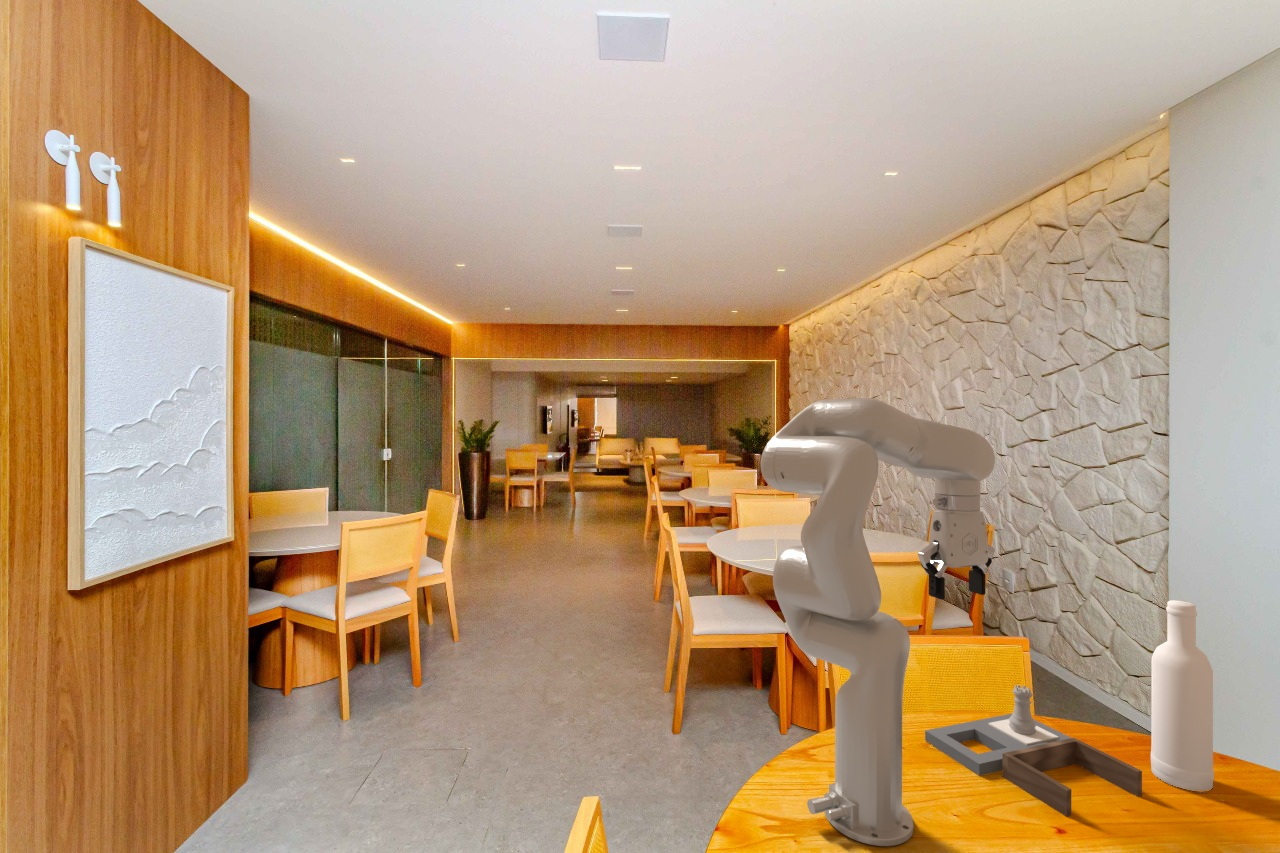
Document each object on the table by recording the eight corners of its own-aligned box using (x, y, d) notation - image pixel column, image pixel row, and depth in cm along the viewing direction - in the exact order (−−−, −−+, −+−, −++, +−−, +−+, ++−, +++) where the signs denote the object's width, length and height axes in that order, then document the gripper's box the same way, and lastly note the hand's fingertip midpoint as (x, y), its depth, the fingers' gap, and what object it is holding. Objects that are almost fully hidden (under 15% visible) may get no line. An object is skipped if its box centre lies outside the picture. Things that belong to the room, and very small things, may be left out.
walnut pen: (1066, 816, 91) (1066, 790, 91) (1002, 776, 102) (1002, 753, 102) (1141, 795, 97) (1142, 770, 97) (1073, 759, 107) (1073, 737, 107)
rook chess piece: (1040, 737, 111) (1040, 694, 111) (1014, 734, 112) (1014, 691, 112) (1030, 725, 115) (1030, 684, 115) (1004, 723, 116) (1004, 681, 116)
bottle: (1204, 774, 103) (1204, 600, 103) (1221, 798, 96) (1221, 612, 96) (1144, 761, 107) (1144, 594, 107) (1157, 784, 100) (1157, 605, 100)
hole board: (979, 775, 102) (979, 762, 102) (925, 740, 113) (925, 728, 113) (1079, 752, 110) (1079, 739, 110) (1018, 721, 121) (1019, 710, 121)
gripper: (936, 508, 105) (936, 604, 105) (1010, 504, 111) (1009, 596, 111) (905, 503, 112) (904, 593, 112) (975, 500, 118) (975, 586, 118)
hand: (957, 595), depth 112 cm, fingers open, 9 cm apart
